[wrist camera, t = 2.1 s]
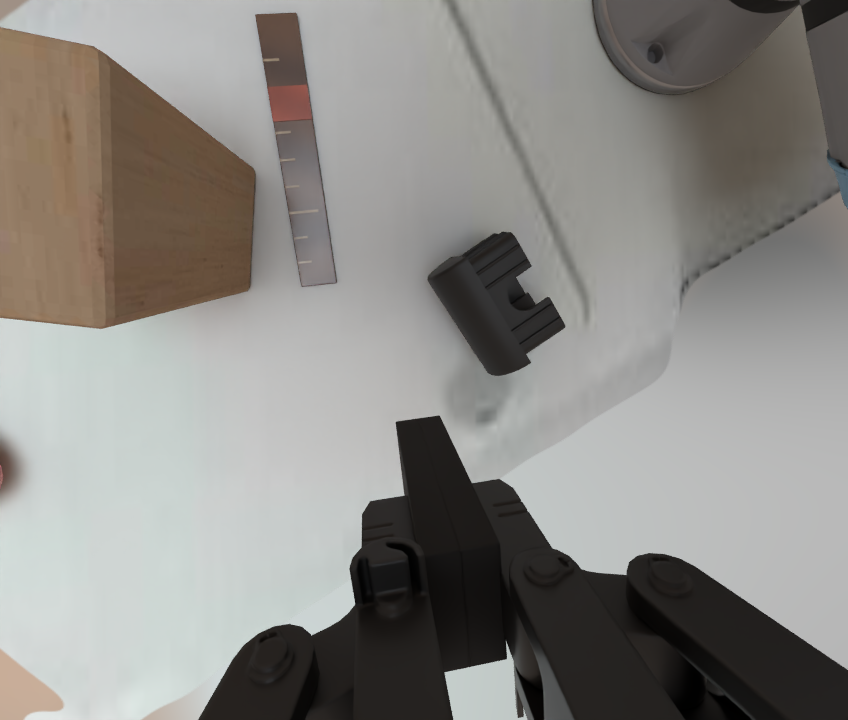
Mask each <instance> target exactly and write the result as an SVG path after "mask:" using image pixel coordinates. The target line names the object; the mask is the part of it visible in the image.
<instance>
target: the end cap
mask: <svg viewBox="0 0 848 720" xmlns="http://www.w3.org/2000/svg"><path fill="white" fill-rule="evenodd" d="M530 267H531V264H530V262H529V260H528V259H527V257H526V255H525V253H524V252H523V250H522V248H521V246H520V244H519V243H518V241H517V239H516V238H515V236H514V235H513V234H512V233H511V232H501V233H500V234H492V235H491V236H490V237H488V238H487V239H485V240H483V241H482V242H480V243H479V244H477V245H476V246H474V247H473V248H471V249H470V250H469V251H467V252H466V253H464V254H463V255H461V256H460V257H451V258H449V259H448V260H446V261H445V262H444V263H442V264H441V265H440V266H438V267H437V268H436V269H435V270H434V271H433V272H432V273H431V274H430V275H429V276H428V282H429V283H430V285H431V286H432V288H433V289H434V291H435V293H436V294H437V296H438V297H439V299H440V300H441V302H442V303H443V305H444V306H445V308H446V309H447V311H448V312H449V314H450V316H451V317H452V319H453V320H454V322H455V323H456V325H457V326H458V328H459V329H460V331H461V332H462V334H463V335H464V337H465V339H466V340H467V342H468V343H469V345H470V346H471V348H472V349H473V351H474V352H475V354H476V355H477V357H478V358H479V360H480V362H481V363H482V365H483V366H484V368H485V369H486V371H487V372H488V373H489V374H491V375H495V376H501V375H506V374H509V373H512V372H515V371H517V370H519V369H521V368H523V367H525V366H527V365H528V364H530V363H531V362H530V360H529V358H528V357H527V355H526V354H527V353H528V352H530V351H531V350H533V349H534V348H536V347H537V346H539V345H540V344H542V343H543V342H545V341H546V340H547V339H549V338H550V337H552V336H553V335H555V334H556V333H558V332H559V331H561V330H562V329H564V328H565V324H564V322H563V320H562V319H561V317H560V315H559V313H558V312H557V310H556V308H555V306H554V304H553V303H552V301H551V299H550V298H549V297H547V298H545V299H544V300H542V301H541V302H539V303H538V304H536V305H535V303H534V301H533V299H532V298H531V296H530V294H529V293H526V294H525V292H524V290H523V289H522V287H521V285H520V284H519V282H518V280H517V278H516V277H517V276H518V275H520V274H521V273H523V272H524V271H526V270H527V269H528V268H530Z"/></svg>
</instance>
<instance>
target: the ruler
mask: <svg viewBox="0 0 848 720" xmlns="http://www.w3.org/2000/svg"><path fill="white" fill-rule="evenodd" d="M255 16H256V22H257V28H258V34H259V40H260V45H261V51H262V57H263V63H264V69H265V75H266V81H267V88H268V94H269V100H270V106H271V112H272V118H273V122H274V128H275V134H276V140H277V145H278V151H279V157H280V163H281V169H282V175H283V181H284V188H285V193H286V198H287V204H288V210H289V216H290V222H291V228H292V234H293V240H294V246H295V251H296V257H297V264H298V269H299V275H300V281H301V286H302V287H303V286H312V285H322V284H331V283H337V280H336V274H335V267H334V260H333V253H332V247H331V240H330V233H329V226H328V220H327V213H326V206H325V199H324V193H323V186H322V179H321V172H320V166H319V159H318V152H317V146H316V139H315V132H314V125H313V119H312V112H311V105H310V98H309V92H308V85H307V78H306V71H305V65H304V58H303V51H302V44H301V38H300V31H299V24H298V17H297V13H280V14H256V15H255Z"/></svg>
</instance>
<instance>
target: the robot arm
mask: <svg viewBox="0 0 848 720" xmlns="http://www.w3.org/2000/svg"><path fill="white" fill-rule="evenodd" d="M593 4H594V14H595V19H596V24H597V28H598V32H599V35H600V38H601V40H602V43H603V45H604V47H605V49H606V51H607V53H608V55H609V57H610V58H611V60H612V61H613V63H614V64H615V65H616V67H617V68H618V69H619V70H620V71H621V72H622V73H623V74H624V75H625V76H626V77H627V78H628V79H629V80H631V81H632V82H634V83H635V84H636V85H638V86H640V87H642V88H644V89H647V90H649V91H652V92H656V93H661V94H683V93H687V92H691V91H694V90H697V89H699V88H702V87H704V86H706V85H708V84H710V83H712V82H714V81H716V80H717V79H719V78H721V77H723V76H725V75H726V74H728V73H729V72H731V71H732V70H733V69H735V68H736V67H737V66H738V65H739V64H741V63H742V62H743V61H744V60H745V59H746V58H747V57H748V56H749V55H750V54H751V53H752V52H753V51H754V50H755V49H756V48H757V47H758V46H759V45H760V44H761V43H762V42H763V41H764V40H765V39H766V38H767V37H768V36H769V35H770V34H771V33H772V32H773V31H774V30H775V29H776V28H777V27H778V26H779V25H780V24H781V23H782V22H783V21H784V20H785V19H786V18H787V17H788V16H789V15H790V14H791V13H792V11H793V10H794V9H795V8H796V7H797V6H798V5H801V8H802V13H803V17H804V22H805V27H806V36H807V41H808V45H809V50H810V55H811V60H812V65H813V69H814V74H815V79H816V84H817V89H818V93H819V98H820V103H821V108H822V114H823V120H824V125H825V131H826V136H827V142H828V147H829V149H828V150H827V161H828V163H829V165H830V166H831V168H832V169H833V170H834V171H835V174H836V177H837V180H838V184H839V188H840V191H841V195H842V199H843V201H844V204H845V206H846V207H847V209H848V0H593ZM396 429H397V437H398V445H399V453H400V462H401V470H402V478H403V486H404V494H405V496H400V497H394V498H388V499H382V500H375V501H370V503H369V504H368V506H367V507H366V509H365V511H364V512H363V514H362V548H361V549H360V550H359V551H358V552H357V553H356V555H355V556H354V557H353V559H352V562H351V565H350V574H351V580H352V586H353V592H354V598H355V606H354V607H353V608H352V609H351V611H350V612H349V613H348V614H347V615H346V616H345V617H344V618H342V619H341V620H340V621H339V622H337V623H335V624H334V625H332V626H330V627H328V628H326V629H324V630H322V631H320V632H318V633H316V634H314V635H312V636H311V634H310V633H308V632H307V631H306V630H305V629H304V628H303V627H300V626H295V625H291V624H287V625H281V626H274V627H272V628H270V629H268V630H265V631H263V632H261V633H259V634H257V635H256V636H255V637H254V638H252V639H251V640H250V641H249V642H247V643H246V644H245V645H244V646H243V647H242V648H241V650H240V651H239V652H238V654H237V655H236V656H235V657H234V659H233V660H232V662H231V664H230V665H229V667H228V669H227V671H226V672H225V674H224V676H223V678H222V679H221V681H220V683H219V685H218V686H217V688H216V690H215V692H214V693H213V695H212V697H211V698H210V700H209V702H208V704H207V705H206V707H205V709H204V711H203V712H202V714H201V716H200V718H199V720H453V716H452V711H451V706H450V700H449V695H448V690H447V685H446V679H445V674H444V672H448V671H452V670H457V669H462V668H467V667H471V666H476V665H481V664H486V663H490V662H495V661H500V660H505V659H507V652H506V641H507V644H508V647H509V649H510V652H511V655H512V658H513V660H514V676H515V694H516V707H517V714H518V718H519V717H523V715H524V714H523V708H524V710H525V713H526V716H527V719H528V720H848V670H847V669H845V668H844V667H842V666H841V665H839V664H838V663H836V662H835V661H834V660H832V659H830V658H829V657H827V656H826V655H825V654H823V653H822V652H820V651H819V650H817V649H816V648H814V647H813V646H811V645H810V644H808V643H807V642H806V641H804V640H803V639H801V638H800V637H798V636H797V635H795V634H794V633H792V632H791V631H789V630H788V629H786V628H785V627H783V626H782V625H780V624H779V623H777V622H776V621H775V620H773V619H772V618H770V617H768V616H767V615H766V614H764V613H763V612H761V611H760V610H758V609H757V608H755V607H754V606H752V605H751V604H749V603H748V602H746V601H745V600H744V599H742V598H741V597H739V596H738V595H736V594H735V593H733V592H732V591H730V590H729V589H727V588H726V587H724V586H723V585H721V584H720V583H718V582H717V581H715V580H714V579H712V578H711V577H710V576H708V575H706V574H705V573H704V572H702V571H701V570H699V569H698V568H696V567H695V566H693V565H691V564H689V563H687V562H685V561H683V560H682V559H679V558H676V557H672V556H669V555H665V554H653V553H648V554H644V555H639V556H637V557H635V558H634V559H633V560H632V561H630V562H629V565H628V569H627V575H617V574H603V573H595V572H589V571H585V570H582V569H580V567H579V566H578V565H577V563H576V562H574V560H572V558H571V557H569V556H568V555H566V554H564V553H562V552H560V551H558V550H555V549H552V547H551V546H550V544H549V543H548V541H547V540H546V538H545V536H544V535H543V533H542V532H541V530H540V529H539V527H538V526H537V524H536V523H535V521H534V519H533V518H532V516H531V515H530V513H529V512H528V511H527V509H526V507H525V506H524V504H523V503H522V502H521V499H520V498H519V496H518V495H517V494H516V492H515V490H514V489H513V488H512V487H511V486H509V485H508V484H506V483H505V482H503V481H502V480H500V479H497V480H490V481H484V482H478V483H471V481H470V479H469V477H468V475H467V472H466V470H465V468H464V466H463V464H462V462H461V460H460V458H459V456H458V453H457V451H456V449H455V447H454V445H453V443H452V441H451V439H450V437H449V434H448V432H447V430H446V428H445V426H444V424H443V422H442V420H441V418H440V416H433V417H426V418H419V419H412V420H405V421H398V422H396Z"/></svg>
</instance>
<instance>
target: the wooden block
mask: <svg viewBox="0 0 848 720" xmlns="http://www.w3.org/2000/svg"><path fill="white" fill-rule="evenodd" d="M254 186H255V172H254V169H253V168H252V167H251V166H249V165H248V164H247V163H246V162H244V161H243V160H242V159H240V158H239V157H238V156H237V155H235V154H234V153H233V152H231V151H230V150H229V149H227V148H226V147H225V146H224V145H222V144H221V143H220V142H218V141H217V140H216V139H215V138H213V137H212V136H211V135H209V134H208V133H207V132H206V131H204V130H203V129H202V128H200V127H199V126H198V125H196V124H195V123H194V122H193V121H191V120H190V119H189V118H187V117H186V116H185V115H184V114H182V113H181V112H180V111H178V110H177V109H176V108H175V107H173V106H172V105H171V104H169V103H168V102H167V101H165V100H164V99H163V98H162V97H160V96H159V95H158V94H156V93H155V92H154V91H153V90H151V89H150V88H149V87H147V86H146V85H145V84H144V83H142V82H141V81H140V80H138V79H137V78H136V77H134V76H133V75H132V74H131V73H129V72H128V71H127V70H125V69H124V68H123V67H122V66H120V65H119V64H118V63H116V62H115V61H114V60H113V59H111V58H110V57H109V56H107V55H106V54H105V53H103V52H102V51H100V50H98V49H97V48H95V47H94V46H89V45H84V44H79V43H74V42H69V41H65V40H60V39H55V38H50V37H45V36H40V35H35V34H30V33H26V32H21V31H16V30H11V29H6V28H1V27H0V318H8V319H17V320H26V321H35V322H44V323H53V324H63V325H72V326H81V327H90V328H99V329H103V328H107V327H111V326H114V325H118V324H122V323H126V322H130V321H134V320H138V319H141V318H145V317H149V316H153V315H157V314H161V313H165V312H168V311H172V310H176V309H180V308H184V307H188V306H192V305H195V304H199V303H203V302H207V301H211V300H215V299H218V298H222V297H226V296H230V295H234V294H238V293H242V292H245V291H248V289H249V287H250V267H251V246H252V226H253V206H254Z"/></svg>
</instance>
